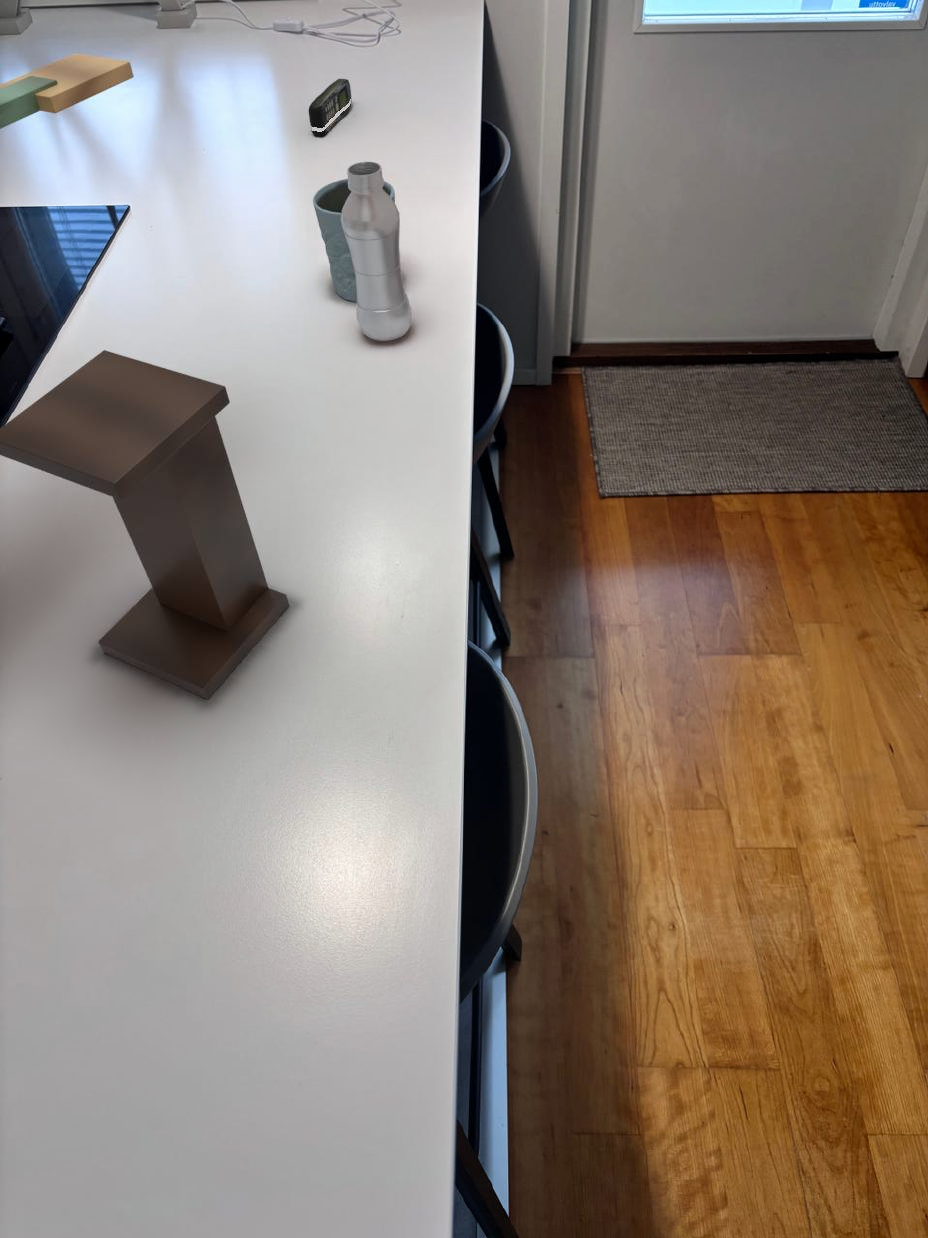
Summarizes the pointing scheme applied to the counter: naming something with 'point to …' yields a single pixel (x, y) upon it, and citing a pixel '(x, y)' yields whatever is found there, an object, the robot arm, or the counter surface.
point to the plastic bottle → (375, 254)
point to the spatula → (60, 85)
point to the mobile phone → (330, 105)
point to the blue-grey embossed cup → (338, 235)
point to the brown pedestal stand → (160, 511)
